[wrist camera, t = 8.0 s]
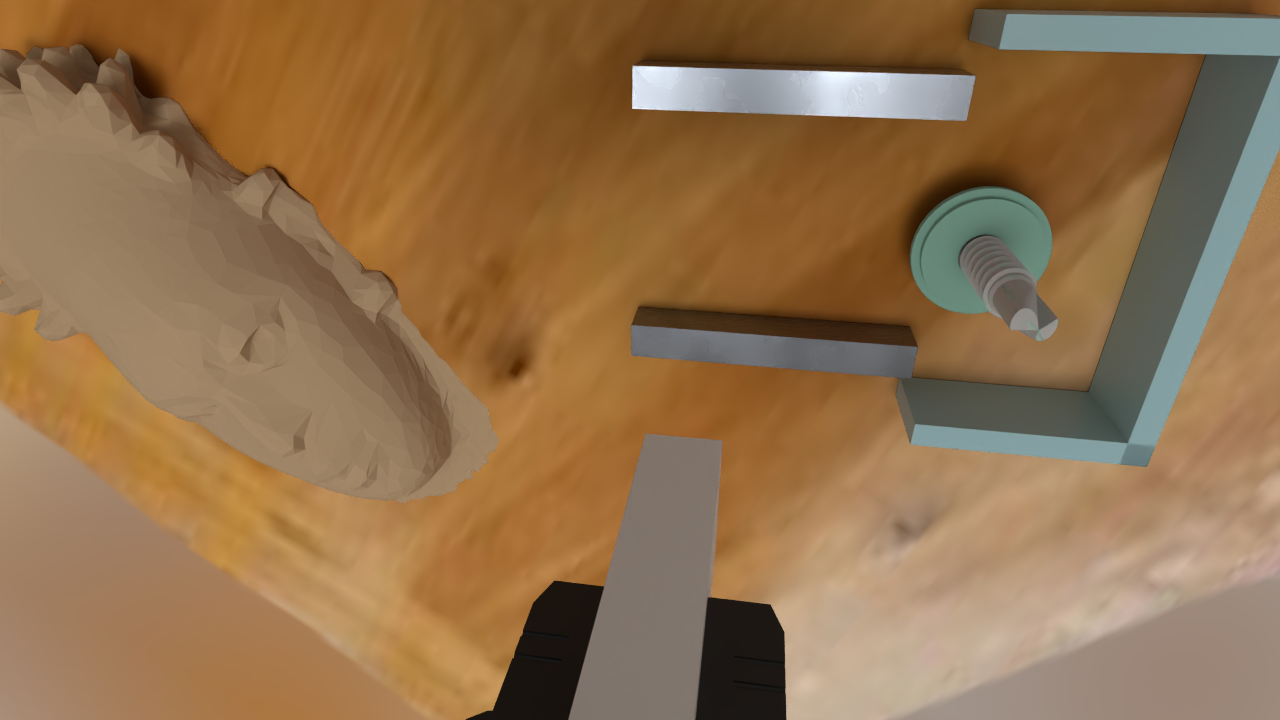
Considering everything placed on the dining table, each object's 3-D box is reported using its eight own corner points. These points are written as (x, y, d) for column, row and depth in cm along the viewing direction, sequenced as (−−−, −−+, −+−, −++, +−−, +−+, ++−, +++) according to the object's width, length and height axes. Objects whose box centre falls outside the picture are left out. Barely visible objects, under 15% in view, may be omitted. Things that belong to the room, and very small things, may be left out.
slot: (641, 60, 28) (632, 66, 27) (962, 69, 27) (975, 75, 25) (638, 336, 34) (631, 355, 32) (903, 357, 32) (911, 378, 31)
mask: (368, 639, 38) (-190, 259, 32) (423, 548, 44) (-38, 212, 38) (532, 489, 31) (-140, -34, 25) (573, 405, 37) (36, -35, 31)
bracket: (974, 8, 26) (1006, 13, 22) (1253, 13, 25) (1333, 19, 21) (895, 395, 33) (910, 444, 30) (1105, 413, 32) (1146, 466, 29)
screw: (890, 196, 29) (1024, 156, 28) (915, 305, 31) (1041, 273, 30) (935, 278, 21) (1125, 228, 20) (964, 417, 23) (1139, 381, 22)
